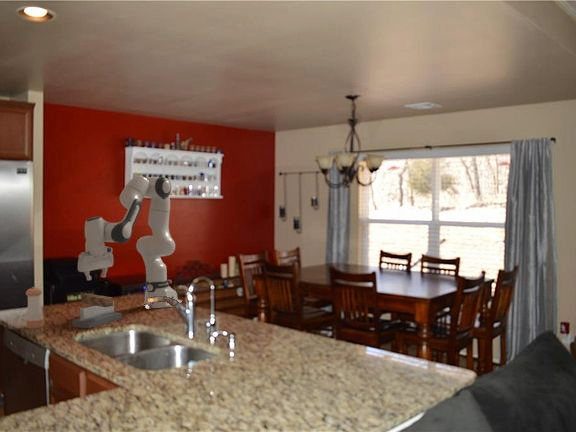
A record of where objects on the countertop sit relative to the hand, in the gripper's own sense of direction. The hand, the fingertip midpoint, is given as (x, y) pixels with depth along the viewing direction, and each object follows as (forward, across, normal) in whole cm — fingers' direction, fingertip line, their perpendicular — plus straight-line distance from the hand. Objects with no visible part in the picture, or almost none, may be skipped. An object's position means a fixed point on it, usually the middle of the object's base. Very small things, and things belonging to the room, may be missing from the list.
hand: (96, 278), depth 269 cm
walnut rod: (+13, 0, 0) cm, 13 cm away
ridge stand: (+22, 0, 0) cm, 22 cm away
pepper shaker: (+22, -17, +23) cm, 36 cm away
